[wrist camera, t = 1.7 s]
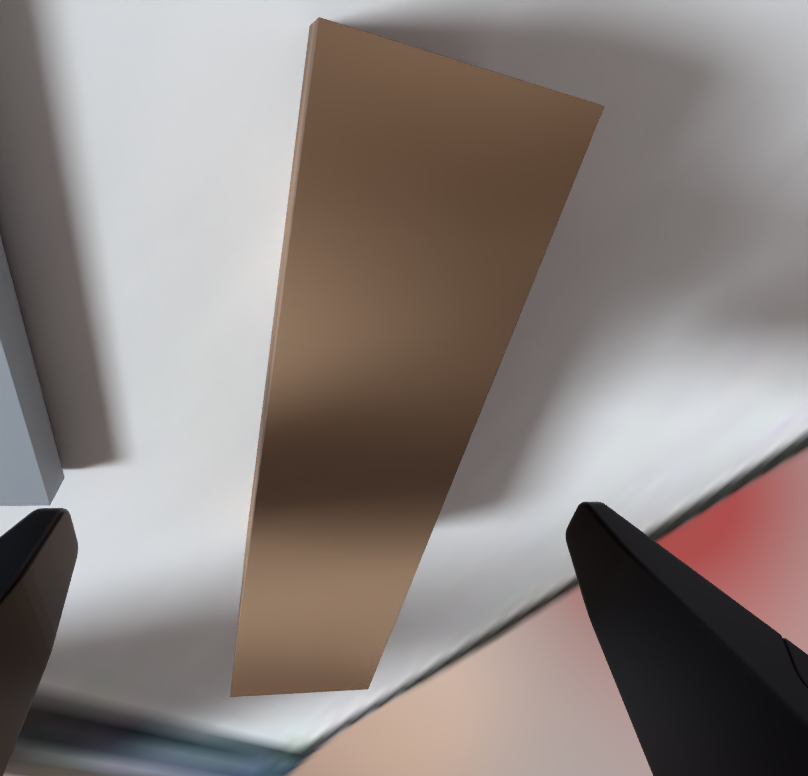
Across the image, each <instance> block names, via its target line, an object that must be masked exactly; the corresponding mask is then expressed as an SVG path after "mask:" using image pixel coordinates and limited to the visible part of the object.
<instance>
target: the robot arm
mask: <svg viewBox="0 0 808 776" xmlns="http://www.w3.org/2000/svg"><path fill="white" fill-rule="evenodd" d="M566 542H567V546H568V549H569V552H570V556H571V559H572V563H573V566H574V569H575V573H576V576H577V579H578V583H579V586H580V590H581V593H582V596H583V600H584V603H585V606H586V609H587V611H588V615H589V618H590V620H591V623H592V626H593V628H594V631H595V633H596V636H597V638H598V641H599V643H600V645H601V648H602V650H603V653H604V655H605V658H606V660H607V663H608V665H609V667H610V670H611V672H612V675H613V678H614V679H615V682H616V685H617V687H618V690H619V692H620V695H621V697H622V700H623V702H624V705H625V707H626V709H627V712H628V714H629V717H630V719H631V722H632V724H633V727H634V729H635V732H636V734H637V737H638V739H639V742H640V744H641V747H642V749H643V752H644V754H645V756H646V759H647V761H648V764H649V766H650V769H651V771H652V773H653V776H808V655H807V654H806V653H805V652H803V651H802V650H801V649H799V648H798V647H797V646H795V645H794V644H792V643H791V642H790V641H789V640H787V639H785V638H782V636H781V635H780V634H779V633H778V632H776V631H775V630H774V629H772V628H771V627H770V626H768V625H767V624H766V623H764V622H763V621H762V620H760V619H759V618H758V617H756V616H755V615H753V614H752V613H751V612H749V611H748V610H747V609H745V608H744V607H743V606H741V605H740V604H739V603H737V602H736V601H735V600H733V599H732V598H731V597H729V596H728V595H727V594H725V593H724V592H723V591H721V590H720V589H718V588H717V587H716V586H714V585H713V584H712V583H710V582H709V581H708V580H706V579H705V578H704V577H702V576H701V575H700V574H698V573H697V572H696V571H694V570H693V569H692V568H690V567H689V566H687V565H686V564H685V563H683V562H682V561H681V560H679V559H678V558H677V557H675V556H674V555H672V554H671V553H670V552H669V551H667V550H666V549H665V548H663V547H662V546H661V545H659V544H658V543H656V542H655V541H654V540H652V539H651V538H650V537H648V536H647V535H646V534H644V533H643V532H642V531H640V530H639V529H638V528H636V527H635V526H634V525H632V524H631V523H630V522H628V521H627V520H625V519H624V518H623V517H621V516H620V515H619V514H617V513H616V512H615V511H613V510H612V509H611V508H609V507H608V506H607V505H605V504H604V503H601V502H582V503H581V504H579V506H578V507H577V509H576V511H575V513H574V515H573V517H572V519H571V521H570V523H569V525H568V527H567V529H566ZM77 554H78V542H77V538H76V534H75V530H74V527H73V523H72V519H71V516H70V513H69V511H68V510H66V509H63V508H42V509H37V510H35V511H33V512H31V513H30V514H29V515H27V516H26V517H25V518H24V519H22V520H21V521H20V522H19V523H17V524H16V525H15V526H14V527H12V528H11V529H10V530H8V531H7V532H6V533H5V534H3V535H2V536H1V537H0V776H3V774H4V772H5V769H6V766H7V764H8V761H9V759H10V756H11V754H12V751H13V749H14V746H15V744H16V741H17V739H18V736H19V734H20V731H21V728H22V726H23V723H24V721H25V718H26V716H27V713H28V711H29V708H30V706H31V703H32V701H33V698H34V696H35V693H36V691H37V688H38V685H39V683H40V680H41V678H42V675H43V673H44V670H45V668H46V665H47V662H48V659H49V657H50V654H51V651H52V647H53V644H54V640H55V637H56V633H57V629H58V626H59V622H60V618H61V615H62V611H63V607H64V603H65V600H66V596H67V592H68V589H69V585H70V581H71V577H72V574H73V570H74V566H75V563H76V559H77Z"/></svg>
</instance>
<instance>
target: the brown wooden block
mask: <svg viewBox="0 0 808 776" xmlns="http://www.w3.org/2000/svg"><path fill="white" fill-rule="evenodd" d="M603 109H604V106H602V105H599V104H595V103H592V102H589V101H586V100H583V99H579V98H576V97H573V96H570V95H567V94H563V93H560V92H557V91H554V90H551V89H547V88H544V87H541V86H538V85H535V84H531V83H528V82H525V81H522V80H518V79H515V78H512V77H509V76H506V75H502V74H499V73H496V72H493V71H490V70H486V69H483V68H480V67H477V66H474V65H470V64H467V63H464V62H461V61H458V60H454V59H451V58H448V57H445V56H441V55H438V54H435V53H432V52H429V51H425V50H422V49H419V48H416V47H413V46H409V45H406V44H403V43H400V42H397V41H393V40H390V39H387V38H384V37H381V36H377V35H374V34H371V33H368V32H365V31H361V30H358V29H355V28H352V27H348V26H345V25H342V24H339V23H336V22H332V21H329V20H326V19H323V18H320V17H319V18H318V19H317V20H316V21H314V22H313V23H312V24H311V25H310V28H309V36H308V44H307V52H306V61H305V69H304V77H303V85H302V93H301V101H300V109H299V117H298V125H297V133H296V141H295V150H294V158H293V166H292V174H291V182H290V190H289V198H288V206H287V214H286V222H285V230H284V238H283V247H282V255H281V263H280V271H279V279H278V287H277V295H276V303H275V311H274V319H273V327H272V335H271V344H270V352H269V360H268V368H267V376H266V384H265V392H264V400H263V408H262V416H261V424H260V432H259V441H258V449H257V457H256V465H255V473H254V481H253V489H252V497H251V505H250V513H249V521H248V530H247V538H246V548H245V557H244V567H243V577H242V587H241V596H240V606H239V616H238V626H237V635H236V645H235V655H234V665H233V674H232V684H231V694H230V697H238V696H256V695H274V694H291V693H309V692H326V691H344V690H362V689H368V688H369V686H370V683H371V681H372V678H373V676H374V673H375V671H376V669H377V666H378V664H379V661H380V659H381V656H382V654H383V651H384V649H385V646H386V644H387V641H388V639H389V636H390V634H391V632H392V629H393V627H394V624H395V622H396V619H397V617H398V614H399V612H400V609H401V607H402V604H403V602H404V599H405V597H406V595H407V592H408V590H409V587H410V585H411V582H412V580H413V577H414V575H415V572H416V570H417V567H418V565H419V562H420V560H421V558H422V555H423V553H424V550H425V548H426V545H427V543H428V540H429V538H430V535H431V533H432V530H433V528H434V525H435V523H436V521H437V518H438V516H439V513H440V511H441V508H442V506H443V503H444V501H445V498H446V496H447V493H448V491H449V488H450V486H451V484H452V481H453V479H454V476H455V474H456V471H457V469H458V466H459V464H460V461H461V459H462V456H463V454H464V452H465V449H466V447H467V444H468V442H469V439H470V437H471V434H472V432H473V429H474V427H475V424H476V422H477V419H478V417H479V415H480V412H481V410H482V407H483V405H484V402H485V400H486V397H487V395H488V392H489V390H490V387H491V385H492V382H493V380H494V378H495V375H496V373H497V370H498V368H499V365H500V363H501V360H502V358H503V355H504V353H505V350H506V348H507V345H508V343H509V341H510V338H511V336H512V333H513V331H514V328H515V326H516V323H517V321H518V318H519V316H520V313H521V311H522V308H523V306H524V304H525V301H526V299H527V296H528V294H529V291H530V289H531V286H532V284H533V281H534V279H535V276H536V274H537V271H538V269H539V267H540V264H541V262H542V259H543V257H544V254H545V252H546V249H547V247H548V244H549V242H550V239H551V237H552V234H553V232H554V230H555V227H556V225H557V222H558V220H559V217H560V215H561V212H562V210H563V207H564V205H565V202H566V200H567V197H568V195H569V193H570V190H571V188H572V185H573V183H574V180H575V178H576V175H577V173H578V170H579V168H580V165H581V163H582V160H583V158H584V156H585V153H586V151H587V148H588V146H589V143H590V141H591V138H592V136H593V133H594V131H595V128H596V126H597V123H598V121H599V119H600V116H601V114H602V111H603Z"/></svg>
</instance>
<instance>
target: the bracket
mask: <svg viewBox="0 0 808 776" xmlns="http://www.w3.org/2000/svg"><path fill="white" fill-rule="evenodd" d="M63 480H64V474H63V470H62V466H61V462H60V459H59V455H58V451H57V447H56V444H55V440H54V436H53V432H52V428H51V425H50V421H49V417H48V413H47V410H46V406H45V402H44V398H43V395H42V391H41V387H40V383H39V379H38V376H37V372H36V368H35V364H34V361H33V357H32V353H31V349H30V345H29V342H28V338H27V334H26V330H25V327H24V323H23V319H22V315H21V312H20V308H19V304H18V300H17V296H16V293H15V289H14V285H13V281H12V278H11V274H10V270H9V266H8V263H7V259H6V255H5V251H4V247H3V244H2V240H1V236H0V506H30V505H50V504H51V502H52V500H53V499H54V497H55V495H56V493H57V491H58V489H59V487H60V485H61V483H62V481H63Z"/></svg>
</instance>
